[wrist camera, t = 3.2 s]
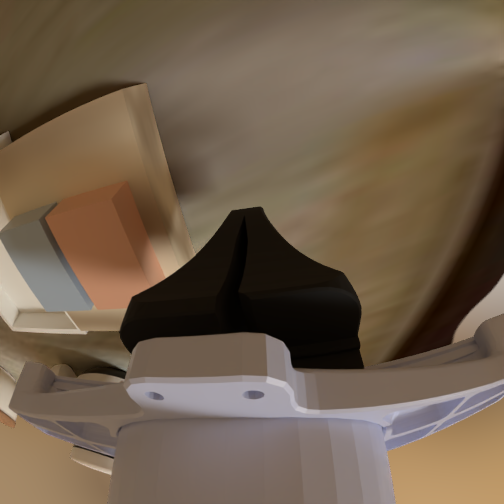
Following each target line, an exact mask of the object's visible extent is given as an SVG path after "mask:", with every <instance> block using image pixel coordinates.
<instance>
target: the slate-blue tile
mask: <svg viewBox="0 0 504 504" xmlns="http://www.w3.org/2000/svg"><path fill="white" fill-rule="evenodd" d="M57 205H58V204H57V201H56V202H54V203H51V204H48V205H45V206H42V207H39V208H36V209H34V210H31V211H28V212H26V213H23V214H20V215H18V216H15V217H14V218H13V219H12V220H11V221H10V222H9V223H8V224H7V225H6V226H5V227H4V228H3V229H2V230H1V231H0V240H1V242H2V243H3V245H4V247H5V249H6V251H7V252H8V254H9V256H10V258H11V259H12V261H13V263H14V264H15V266H16V267H17V269H18V271H19V272H20V274H21V275H22V277H23V279H24V280H25V282H26V283H27V285H28V286H29V288H30V289H31V291H32V292H33V293H34V295H35V296H36V298H37V299H38V301H39V302H40V303H41V305H42V306H43V307H44V309H45V310H46V312H57V311H84V310H91V309H92V307H93V305H94V304H93V302H92V301H91V299H90V297H89V296H88V294H87V293H86V291H85V290H84V288H83V286H82V285H81V283H80V282H79V280H78V278H77V277H76V275H75V273H74V272H73V270H72V268H71V266H70V265H69V263H68V261H67V259H66V258H65V256H64V254H63V252H62V250H61V249H60V247H59V245H58V243H57V241H56V239H55V237H54V235H53V233H52V231H51V229H50V227H49V225H48V223H47V221H46V219H45V217H46V216H47V215H48V214H49V213H50V212H51V211H52V210H53V209H54V208H55V207H56V206H57Z"/></svg>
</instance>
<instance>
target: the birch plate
mask: <svg viewBox="0 0 504 504" xmlns="http://www.w3.org/2000/svg"><path fill="white" fill-rule="evenodd" d="M123 181H128V184H129V187H130V190H131V193H132V195H133V198H134V201H135V204H136V206H137V209H138V212H139V214H140V217H141V219H142V222H143V225H144V227H145V230H146V232H147V235H148V237H149V240H150V242H151V245H152V247H153V249H154V252H155V254H156V257H157V259H158V261H159V264H160V266H161V268H162V270H163V273H164V275H165V277H166V278H167V277H168V276H170V275H171V274H173V273H174V272H176V271H177V270H178V269H179V268H181V267H182V266H183V265H185V264H186V263H187V262H188V261H190V260H191V259H192V258H193V257H194V256H195V252H194V249H193V246H192V242H191V239H190V236H189V233H188V230H187V227H186V224H185V221H184V218H183V214H182V211H181V208H180V205H179V202H178V198H177V195H176V192H175V188H174V185H173V182H172V178H171V175H170V171H169V168H168V164H167V161H166V157H165V154H164V150H163V147H162V143H161V139H160V136H159V132H158V128H157V124H156V120H155V116H154V113H153V109H152V105H151V101H150V96H149V92H148V88H147V84H146V83H144V84H140V85H136V86H132V87H128V88H124V89H121V90H118V91H116V92H113V93H110V94H108V95H105V96H103V97H100V98H98V99H95V100H93V101H91V102H88V103H86V104H84V105H82V106H79V107H77V108H75V109H73V110H71V111H69V112H67V113H65V114H63V115H61V116H59V117H57V118H55V119H53V120H51V121H49V122H47V123H45V124H43V125H41V126H40V127H38V128H36V129H34V130H32V131H31V132H29V133H27V134H26V135H24V136H22V137H21V138H19V139H17V140H16V141H14V142H12V143H11V144H9V145H8V146H6V147H5V148H3V149H2V150H0V198H1V200H2V203H3V205H4V207H5V209H6V211H7V213H8V215H9V218H10V220H12V219H13V218H14V217H15V216H18V215H20V214H23V213H26V212H28V211H31V210H34V209H36V208H39V207H42V206H45V205H48V204H51V203H54V202H56V201H57V204H59V203H60V202H61V201H62V200H63V199H66V198H69V197H72V196H75V195H78V194H81V193H85V192H88V191H91V190H95V189H98V188H102V187H105V186H109V185H112V184H116V183H120V182H123ZM126 310H127V308H122V309H105V310H97V308H96V307H95V305H93V307H92V309H91V310H84V311H66V312H67V313H68V315H69V316H70V317H71V319H72V320H73V321H74V323H75V324H76V325H77V327H78V328H79V329H80V330H81V331H120V327H121V324H122V321H123V318H124V315H125V313H126Z"/></svg>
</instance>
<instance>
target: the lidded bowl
mask: <svg viewBox="0 0 504 504" xmlns="http://www.w3.org/2000/svg"><path fill="white" fill-rule="evenodd" d="M15 383H16V380H15V379H14V378H13V377H12V376H11V375H10V374H9V373H8V372H7V371H6V370H5V369H3V368H2V367H1V366H0V422H1V423H3V424H5V425H7V426H9V427H12V428H14V427H15V424H16V423H15V422H16V418H17V414H16V413H14V412H13V411H12V410H11V409H9V407H8V406H9V403H10V400H11V398H12V395H13V392H14V390H15V387H16V384H15Z"/></svg>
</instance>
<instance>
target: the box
mask: <svg viewBox="0 0 504 504" xmlns="http://www.w3.org/2000/svg"><path fill="white" fill-rule="evenodd" d="M11 143H12V140H11V137H10V134H9V131H7V132H6V133H4V134H2V135H0V150H2V149H3V148H5V147H6V146H8V145H9V144H11ZM10 221H11V220H10V218H9V215H8V213H7V211H6V209H5V207H4V205H3V203H2V200H1V198H0V231H1V230H2V229H3V228H4V227H5V226H6V225H7V224H8V223H9V222H10ZM0 316H1V317H2V318H3V320H4V321H5V322H6V323H7V325H8V326H9V327H10V328H11V329H12V331H20V332H36V333H58V334H87V332H88V331H81V330H80V329H79V328H78V327H77V325H76V324H75V323H74V321H73V320H72V319H71V317H70V316H69V315H68V313H67V312H66V311H57V312H46V310H45V309H44V307H43V306H42V305H41V303H40V302H39V301H38V299H37V298H36V296H35V295H34V293H33V292H32V291H31V289H30V288H29V286H28V285H27V283H26V282H25V280H24V279H23V277H22V275H21V274H20V272H19V271H18V269H17V267H16V266H15V264H14V263H13V261H12V259H11V258H10V256H9V254H8V252H7V251H6V249H5V247H4V245H3V243H2V242H1V240H0Z"/></svg>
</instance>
